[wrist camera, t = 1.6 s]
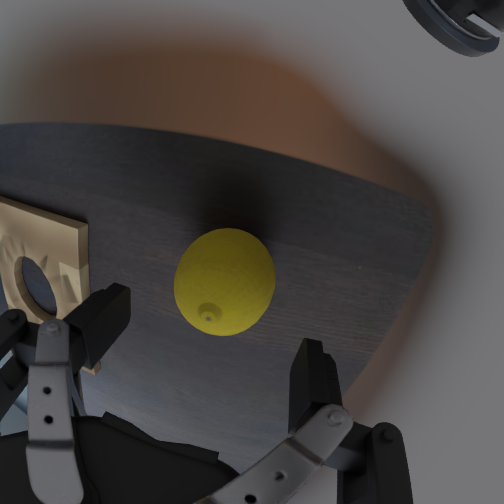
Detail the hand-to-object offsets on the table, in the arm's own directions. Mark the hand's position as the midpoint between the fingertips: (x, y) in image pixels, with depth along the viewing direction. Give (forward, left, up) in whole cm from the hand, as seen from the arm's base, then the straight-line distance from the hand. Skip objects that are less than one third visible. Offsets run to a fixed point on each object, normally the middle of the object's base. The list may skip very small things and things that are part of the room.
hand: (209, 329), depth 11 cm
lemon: (0, 0, -9) cm, 9 cm away
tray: (+10, -21, -8) cm, 25 cm away
